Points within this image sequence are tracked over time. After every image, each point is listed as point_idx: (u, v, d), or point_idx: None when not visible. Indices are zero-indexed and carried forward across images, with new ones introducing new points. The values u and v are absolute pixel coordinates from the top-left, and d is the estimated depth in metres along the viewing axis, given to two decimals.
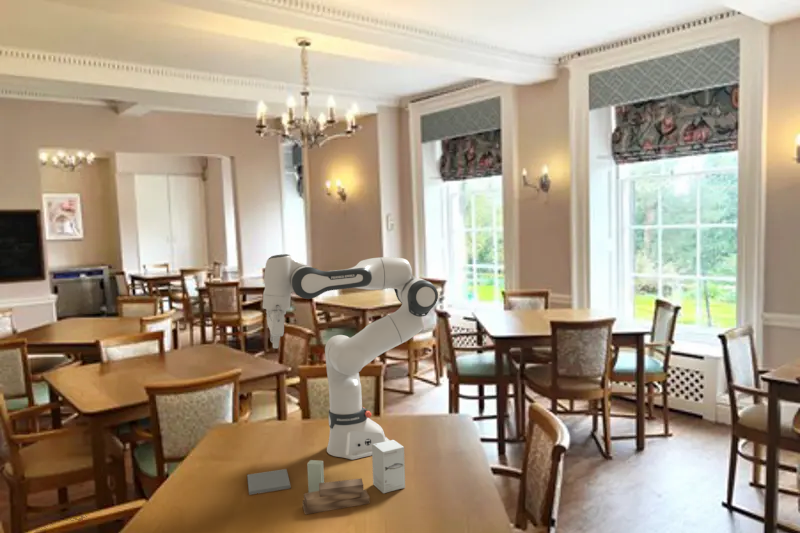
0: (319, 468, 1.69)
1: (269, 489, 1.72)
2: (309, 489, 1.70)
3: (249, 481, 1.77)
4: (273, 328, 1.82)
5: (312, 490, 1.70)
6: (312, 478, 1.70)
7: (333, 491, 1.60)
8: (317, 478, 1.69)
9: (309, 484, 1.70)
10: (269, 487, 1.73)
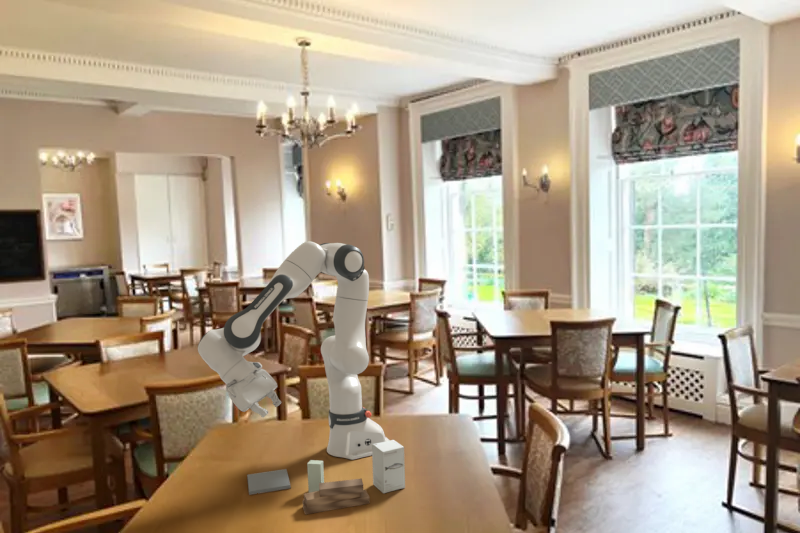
0: (319, 468, 1.69)
1: (269, 489, 1.72)
2: (309, 489, 1.70)
3: (249, 481, 1.77)
4: (237, 406, 1.63)
5: (312, 490, 1.70)
6: (312, 478, 1.70)
7: (333, 491, 1.60)
8: (317, 478, 1.69)
9: (309, 484, 1.70)
10: (269, 487, 1.73)
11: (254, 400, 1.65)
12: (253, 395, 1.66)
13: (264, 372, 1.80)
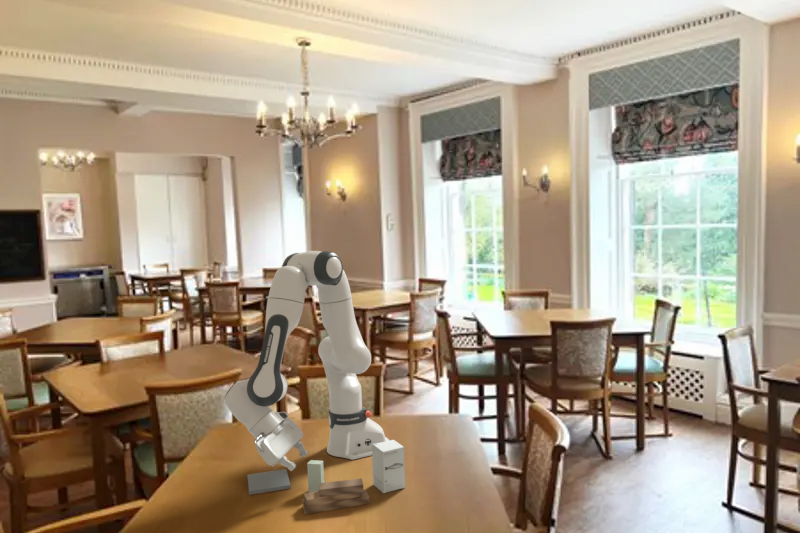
0: (319, 468, 1.69)
1: (269, 489, 1.72)
2: (309, 489, 1.70)
3: (249, 481, 1.77)
4: (265, 461, 1.63)
5: (312, 490, 1.70)
6: (312, 478, 1.70)
7: (333, 491, 1.60)
8: (317, 478, 1.69)
9: (309, 484, 1.70)
10: (269, 487, 1.73)
11: (282, 454, 1.65)
12: (281, 449, 1.66)
13: (290, 422, 1.80)
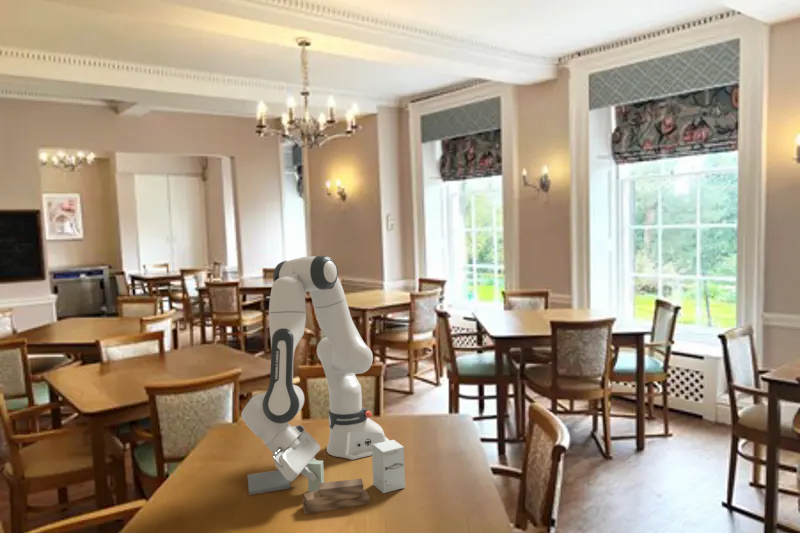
0: (319, 468, 1.69)
1: (269, 489, 1.72)
2: (309, 489, 1.70)
3: (249, 481, 1.77)
4: (284, 476, 1.62)
5: (312, 490, 1.70)
6: None
7: (333, 491, 1.60)
8: (317, 478, 1.69)
9: (309, 484, 1.70)
10: (269, 487, 1.73)
11: (301, 469, 1.64)
12: (299, 464, 1.65)
13: (307, 435, 1.79)
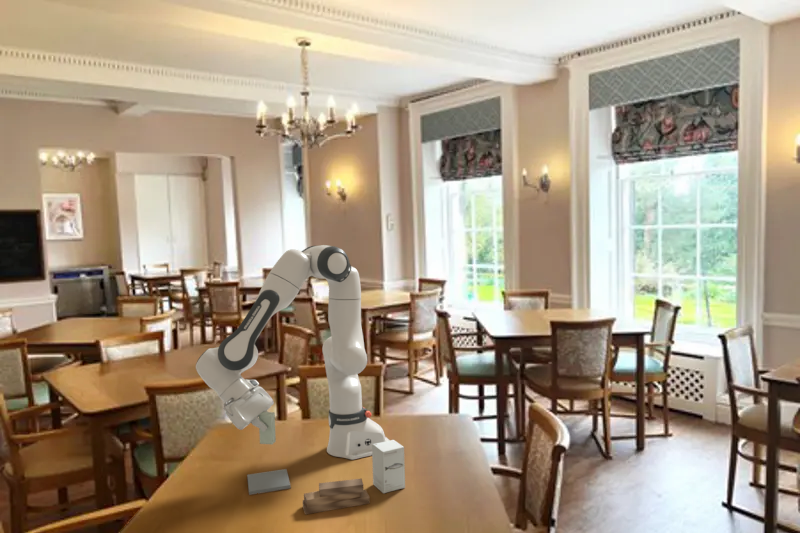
0: (270, 419, 1.74)
1: (269, 489, 1.72)
2: (260, 439, 1.76)
3: (249, 481, 1.77)
4: (234, 424, 1.67)
5: (263, 440, 1.75)
6: None
7: (333, 491, 1.60)
8: (268, 429, 1.75)
9: (260, 435, 1.75)
10: (269, 487, 1.73)
11: (251, 418, 1.70)
12: (250, 413, 1.71)
13: (261, 389, 1.84)
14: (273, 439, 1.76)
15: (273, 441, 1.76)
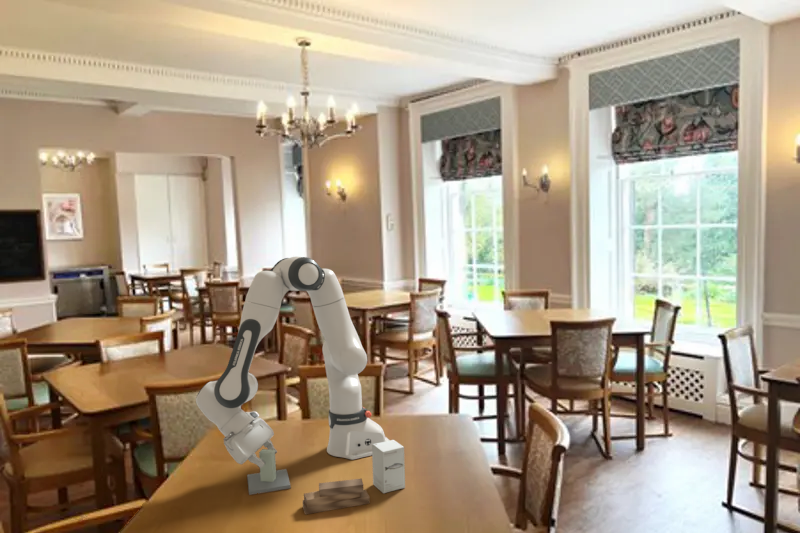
0: (270, 457, 1.76)
1: (269, 489, 1.72)
2: (261, 477, 1.77)
3: (249, 481, 1.77)
4: (234, 459, 1.69)
5: (264, 478, 1.77)
6: (264, 466, 1.77)
7: (333, 491, 1.60)
8: (269, 467, 1.76)
9: (261, 472, 1.77)
10: (269, 487, 1.73)
11: (251, 452, 1.71)
12: (250, 447, 1.72)
13: (261, 421, 1.85)
14: (274, 476, 1.78)
15: (274, 478, 1.77)
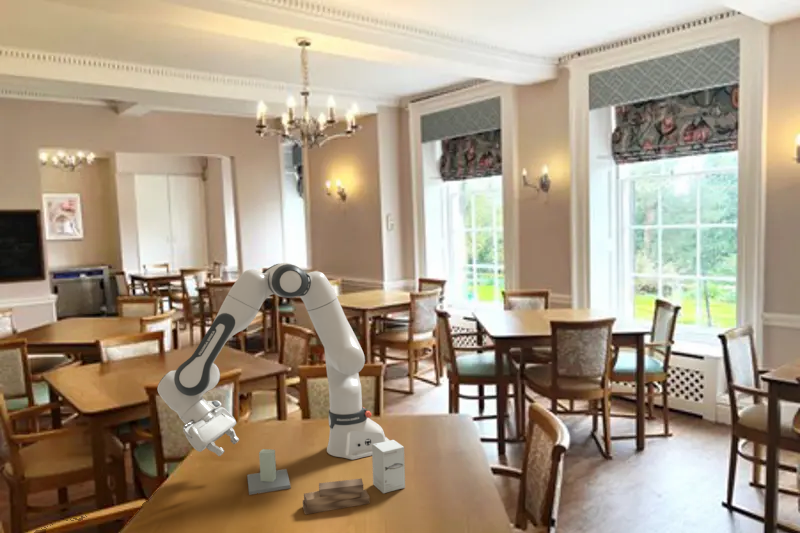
0: (270, 457, 1.76)
1: (269, 489, 1.72)
2: (261, 477, 1.77)
3: (249, 481, 1.77)
4: (193, 446, 1.71)
5: (264, 478, 1.77)
6: (264, 466, 1.77)
7: (333, 491, 1.60)
8: (269, 467, 1.76)
9: (261, 472, 1.77)
10: (269, 487, 1.73)
11: (210, 440, 1.73)
12: (209, 435, 1.74)
13: (223, 410, 1.88)
14: (274, 476, 1.78)
15: (274, 478, 1.77)
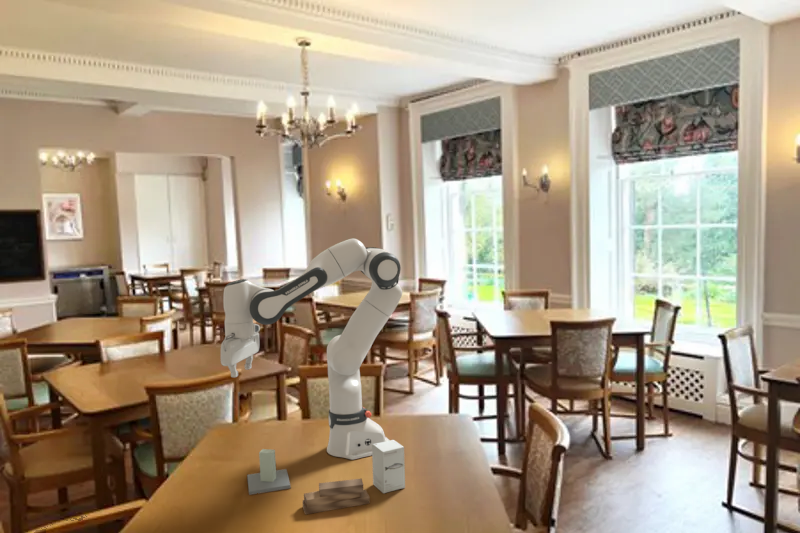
0: (270, 457, 1.76)
1: (269, 489, 1.72)
2: (261, 477, 1.77)
3: (249, 481, 1.77)
4: (221, 358, 1.78)
5: (264, 478, 1.77)
6: (264, 466, 1.77)
7: (333, 491, 1.60)
8: (269, 467, 1.76)
9: (261, 472, 1.77)
10: (269, 487, 1.73)
11: (236, 362, 1.81)
12: (237, 357, 1.82)
13: (257, 336, 1.95)
14: (274, 476, 1.78)
15: (274, 478, 1.77)
